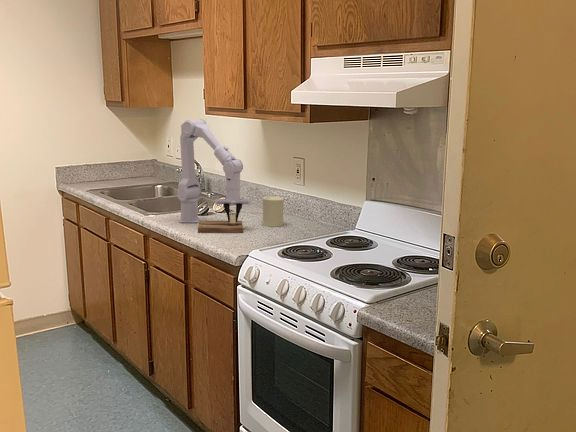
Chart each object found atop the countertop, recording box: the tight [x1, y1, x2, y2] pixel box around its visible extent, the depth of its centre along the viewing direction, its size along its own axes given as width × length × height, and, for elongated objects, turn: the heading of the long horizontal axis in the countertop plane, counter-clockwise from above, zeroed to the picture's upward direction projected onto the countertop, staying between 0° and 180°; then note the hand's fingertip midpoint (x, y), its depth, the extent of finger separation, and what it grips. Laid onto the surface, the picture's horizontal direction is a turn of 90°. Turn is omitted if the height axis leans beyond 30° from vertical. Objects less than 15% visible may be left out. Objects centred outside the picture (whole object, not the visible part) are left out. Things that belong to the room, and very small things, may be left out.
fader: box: [229, 212, 236, 225], centre depth 246 cm, size 5×2×4 cm, turn 6°
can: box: [261, 196, 285, 228], centre depth 257 cm, size 9×9×12 cm
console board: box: [197, 220, 244, 234], centre depth 247 cm, size 14×18×2 cm
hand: (232, 221), depth 247 cm, fingers closed on fader, 2 cm apart
